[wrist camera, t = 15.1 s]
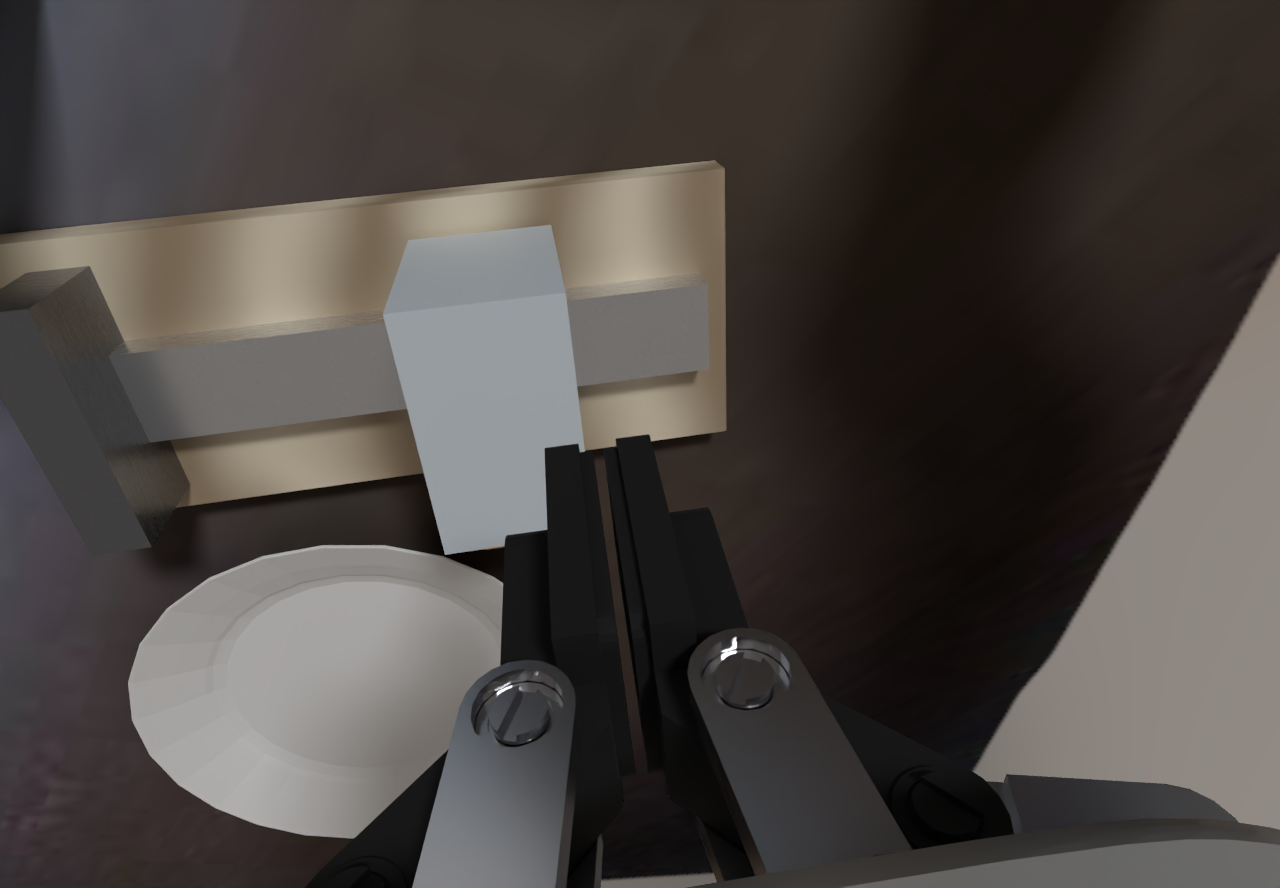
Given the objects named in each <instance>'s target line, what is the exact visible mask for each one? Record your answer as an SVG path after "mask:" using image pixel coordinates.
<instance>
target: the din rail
mask: <svg viewBox="0 0 1280 888" xmlns="http://www.w3.org/2000/svg"><path fill="white" fill-rule="evenodd" d="M565 292H566V299H567V307H568V316H569V324H570V332H571V340H572V349H573V357H574V365H575V373H576V382H577V387H578V386H585V385H593V384H601V383H608V382H616V381H623V380H631V379H639V378H646V377H654V376H661V375H669V374H677V373H684V372H692V371H700V370H707V369H709V321H708V284H707V282H706V281H705V279H704V278H703V276H702V275H701V274H700V273H693V274H685V275H677V276H668V277H660V278H651V279H643V280H634V281H626V282H617V283H609V284H600V285H592V286H583V287H575V288H566V289H565ZM383 312H384V310H380V311H372V312H363V313H355V314H346V315H338V316H329V317H321V318H313V319H304V320H296V321H287V322H279V323H270V324H262V325H253V326H245V327H236V328H228V329H219V330H211V331H202V332H194V333H186V334H177V335H169V336H160V337H152V338H143V339H135V340H126V341H124V339H123V337H122V335H121V333H120V331H119V329H118V326H117V324H116V322H115V320H114V318H113V316H112V313H111V311H110V309H109V307H108V305H107V303H106V300H105V298H104V296H103V294H102V292H101V289H100V287H99V285H98V283H97V281H96V279H95V276H94V274H93V272H92V270H91V268H90V266H84V267H75V268H66V269H56V270H47V271H38V272H29V273H25V274H24V275H22V276H20V277H19V278H17V279H16V280H14V281H12V282H11V283H9V284H7V285H6V286H4V287H3V288H1V289H0V397H1V399H2V400H3V402H4V404H5V406H6V407H7V409H8V411H9V412H10V414H11V416H12V418H13V419H14V421H15V423H16V425H17V426H18V428H19V430H20V431H21V433H22V435H23V437H24V438H25V440H26V442H27V444H28V445H29V447H30V449H31V451H32V452H33V454H34V456H35V457H36V459H37V461H38V463H39V464H40V466H41V468H42V470H43V471H44V473H45V475H46V476H47V478H48V480H49V482H50V483H51V485H52V487H53V489H54V490H55V492H56V494H57V495H58V497H59V499H60V501H61V502H62V504H63V506H64V508H65V509H66V511H67V513H68V514H69V516H70V518H71V520H72V521H73V523H74V525H75V527H76V528H77V530H78V532H79V533H80V535H81V537H82V539H83V540H84V542H85V544H86V546H87V547H88V549H89V551H90V552H91V554H92V556H94V555H101V554H108V553H115V552H122V551H129V550H135V549H142V548H149V547H152V546H153V544H154V543H155V541H156V540H157V538H158V536H159V535H160V533H161V531H162V530H163V528H164V526H165V525H166V523H167V522H168V520H169V518H170V517H171V515H172V513H173V512H174V510H175V508H176V507H177V505H178V504H179V502H180V500H181V499H182V497H183V495H184V494H185V492H186V490H187V489H188V487H189V486H190V483H189V480H188V478H187V476H186V474H185V472H184V470H183V467H182V465H181V463H180V461H179V459H178V457H177V454H176V452H175V450H174V448H173V446H172V444H171V441H170V440H174V439H182V438H189V437H197V436H204V435H212V434H220V433H227V432H235V431H242V430H250V429H258V428H265V427H273V426H281V425H288V424H296V423H303V422H311V421H319V420H326V419H334V418H341V417H349V416H357V415H364V414H372V413H380V412H387V411H395V410H402V409H407V406H406V402H405V398H404V395H403V391H402V387H401V383H400V379H399V375H398V371H397V368H396V364H395V360H394V356H393V352H392V348H391V344H390V341H389V337H388V333H387V329H386V325H385V321H384V317H383Z"/></svg>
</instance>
